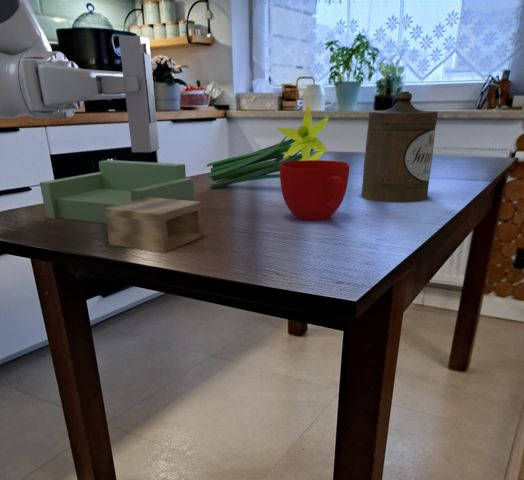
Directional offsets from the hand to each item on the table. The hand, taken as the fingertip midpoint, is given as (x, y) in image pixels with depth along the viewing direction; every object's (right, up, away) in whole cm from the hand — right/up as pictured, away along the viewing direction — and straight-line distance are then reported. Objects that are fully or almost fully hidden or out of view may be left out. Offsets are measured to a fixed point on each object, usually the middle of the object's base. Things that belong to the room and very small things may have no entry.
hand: (144, 84), depth 75 cm
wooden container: (+48, -4, +44) cm, 65 cm away
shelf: (0, -21, +10) cm, 23 cm away
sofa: (-11, -12, +28) cm, 33 cm away
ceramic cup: (+28, -14, +23) cm, 39 cm away
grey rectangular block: (-1, -8, +4) cm, 9 cm away
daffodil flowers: (+18, +1, +54) cm, 57 cm away
